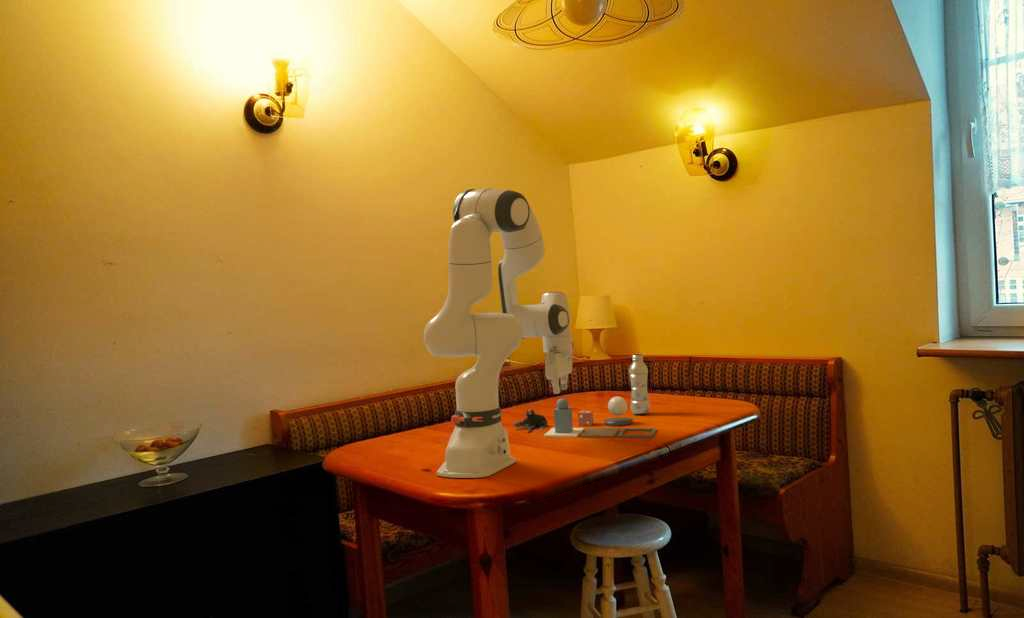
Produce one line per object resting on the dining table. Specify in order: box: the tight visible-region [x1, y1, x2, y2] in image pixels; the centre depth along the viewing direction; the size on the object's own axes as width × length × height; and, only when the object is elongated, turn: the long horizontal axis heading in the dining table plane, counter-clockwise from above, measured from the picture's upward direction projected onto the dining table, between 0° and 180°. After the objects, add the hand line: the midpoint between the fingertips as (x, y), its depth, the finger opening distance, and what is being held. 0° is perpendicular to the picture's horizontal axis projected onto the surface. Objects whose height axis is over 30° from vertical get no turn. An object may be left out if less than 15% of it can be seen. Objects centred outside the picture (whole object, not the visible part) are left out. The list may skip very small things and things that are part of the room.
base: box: [603, 416, 634, 427], centre depth 226 cm, size 9×9×1 cm
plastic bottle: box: [628, 353, 651, 416], centre depth 239 cm, size 6×7×20 cm
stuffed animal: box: [512, 408, 548, 434], centre depth 228 cm, size 12×10×12 cm
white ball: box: [607, 396, 628, 417], centre depth 226 cm, size 6×6×6 cm
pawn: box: [553, 397, 574, 433], centre depth 216 cm, size 4×4×10 cm
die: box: [577, 410, 595, 427], centre depth 227 cm, size 4×4×4 cm
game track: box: [543, 427, 657, 439], centre depth 213 cm, size 10×32×1 cm, turn 72°
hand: (560, 391), depth 216 cm, fingers open, 8 cm apart
